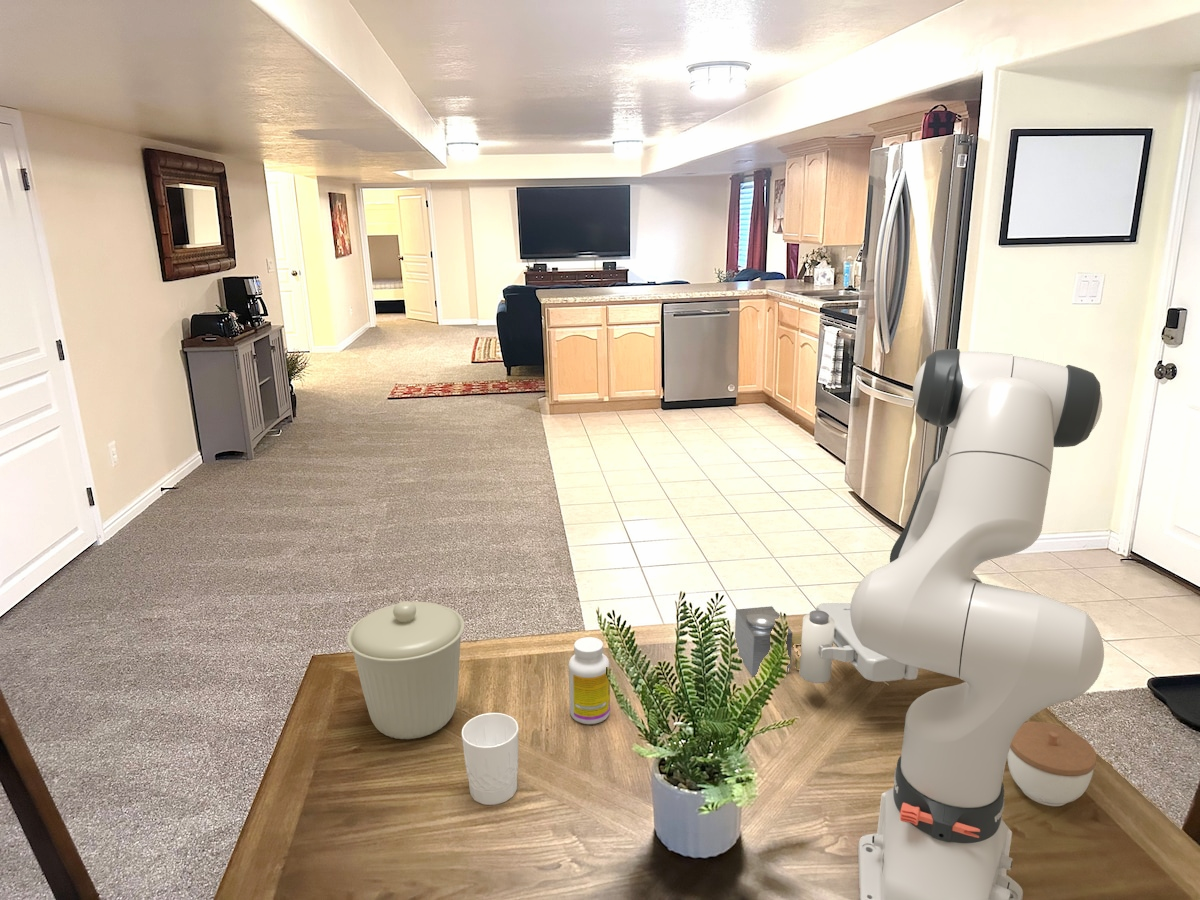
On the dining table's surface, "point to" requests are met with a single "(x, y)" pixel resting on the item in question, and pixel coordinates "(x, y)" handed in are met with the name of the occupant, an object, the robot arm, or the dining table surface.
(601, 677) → the supplement bottle
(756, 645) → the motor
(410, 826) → the dining table surface
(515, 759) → the white cup
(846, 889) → the dining table surface
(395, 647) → the canister
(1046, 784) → the lidded jar
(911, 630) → the robot arm
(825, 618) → the white bottle
